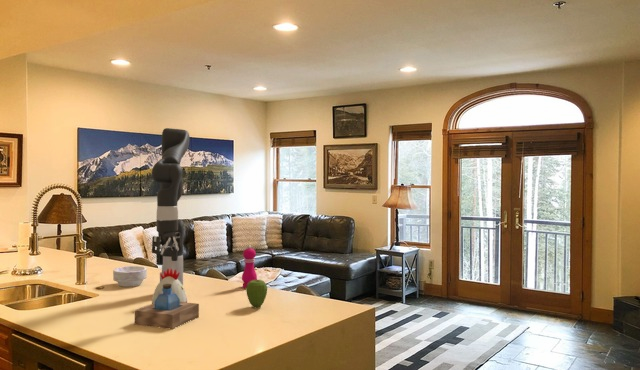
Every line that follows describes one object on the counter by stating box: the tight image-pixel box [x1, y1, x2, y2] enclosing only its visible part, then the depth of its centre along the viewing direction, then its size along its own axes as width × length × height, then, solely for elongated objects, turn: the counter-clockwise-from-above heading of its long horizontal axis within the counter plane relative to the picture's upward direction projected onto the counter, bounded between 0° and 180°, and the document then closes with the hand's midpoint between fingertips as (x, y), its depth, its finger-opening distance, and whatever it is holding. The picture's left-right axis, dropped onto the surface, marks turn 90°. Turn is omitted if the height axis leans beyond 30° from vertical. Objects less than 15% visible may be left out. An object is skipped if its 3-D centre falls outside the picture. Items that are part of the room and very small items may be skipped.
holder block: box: [134, 301, 200, 330], centre depth 183 cm, size 16×16×5 cm
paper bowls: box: [112, 265, 148, 288], centre depth 242 cm, size 15×15×8 cm
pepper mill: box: [241, 244, 258, 289], centre depth 238 cm, size 7×7×20 cm
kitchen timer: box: [151, 268, 188, 304], centre depth 205 cm, size 14×14×15 cm
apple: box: [245, 279, 268, 309], centre depth 202 cm, size 9×8×12 cm
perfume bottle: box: [155, 284, 180, 311], centre depth 182 cm, size 6×6×12 cm
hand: (167, 262), depth 182 cm, fingers open, 8 cm apart
